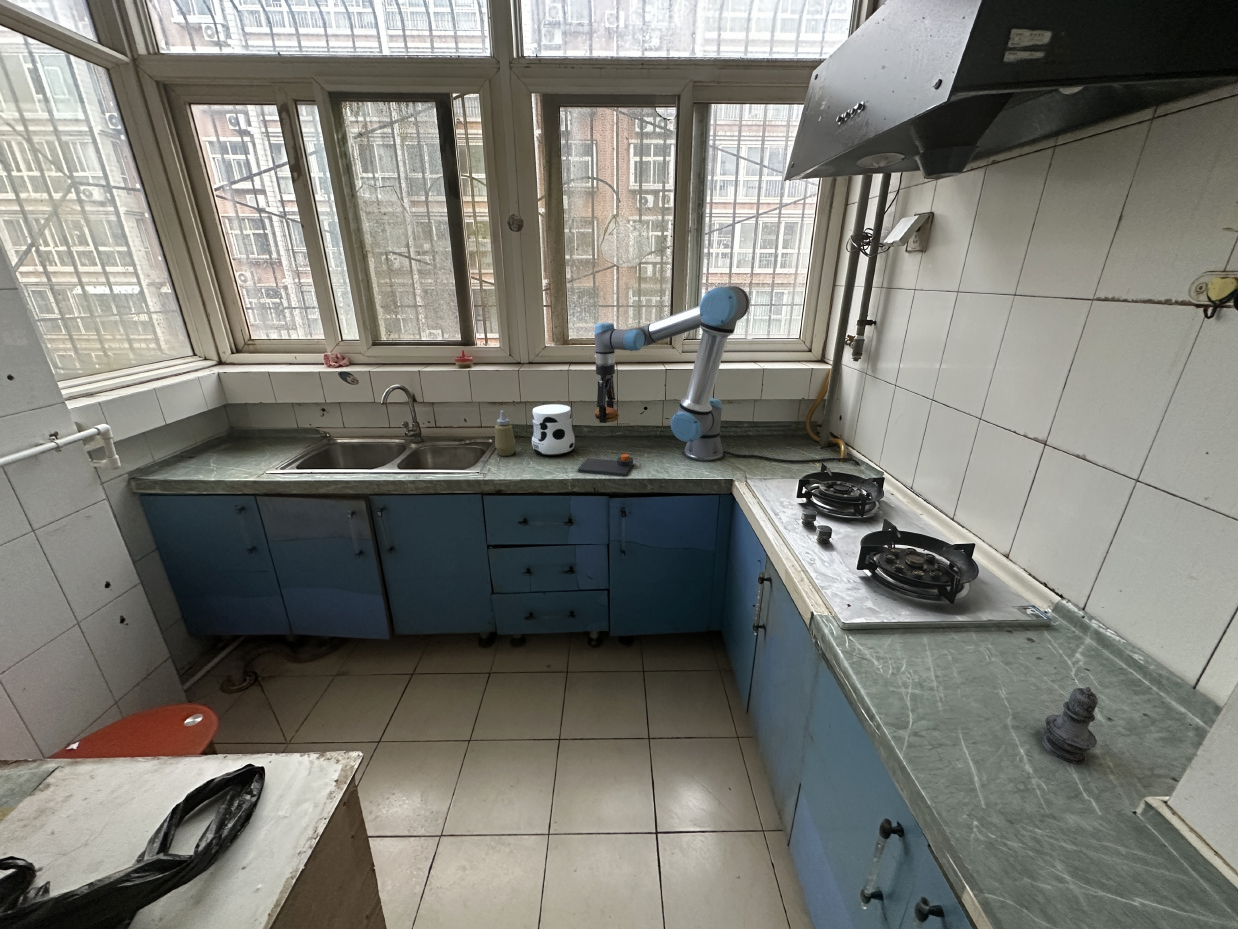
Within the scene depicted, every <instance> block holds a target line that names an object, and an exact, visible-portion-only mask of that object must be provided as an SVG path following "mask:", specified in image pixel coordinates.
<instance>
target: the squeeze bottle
mask: <svg viewBox="0 0 1238 929" xmlns="http://www.w3.org/2000/svg"><path fill="white" fill-rule="evenodd" d="M494 447H495V449H496V451H497V454H498V455H499V456H502V457H508V456H512V455H513V454H514V452H515V448H516V440H515V435H514V430H513V425H512V424H511V423H510V419H509V418H507V417H506V414H505V411H504V410H500V413H499V418H498V419H496V425H495V426H494Z"/></svg>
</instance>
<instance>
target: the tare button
mask: <svg viewBox="0 0 1238 929" xmlns="http://www.w3.org/2000/svg"><path fill="white" fill-rule="evenodd" d="M620 457H621V460H623V461H627V460H629V457H630V454H627V453H623V454H621V456H620Z"/></svg>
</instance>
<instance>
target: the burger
mask: <svg viewBox="0 0 1238 929" xmlns="http://www.w3.org/2000/svg"><path fill="white" fill-rule="evenodd" d="M605 407H606V421H607V423H613V422H617V421H618V420H619V417H620V414H619V411H618V409H616V408H615V407H614V408H609V407H607V406H605ZM594 417H595V419H596V420H597V421H598V422H599V408H597V409H596V410H595V411H594Z"/></svg>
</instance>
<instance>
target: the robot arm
mask: <svg viewBox="0 0 1238 929" xmlns="http://www.w3.org/2000/svg"><path fill="white" fill-rule="evenodd" d="M750 303H751V302H750V297H749V295H748V293H747V291H745V289H743V288H742V287H741V286H737V285H730V286H717V287H714V288H712V289H709V290H708V291H707V292H705V294H704V295H703V296H702V298H701V299H700V302H699V305H697V306H694V307H690V308H688V309H686V310H682V311H680V312H677V313H675V314H672V315H669V316H667V317H663V318H661V319H659V320H656V321H653V322H651V323H647V324H645V325H642V326H638V327H632V328H628V329H627V328H626V329H623V328H616V327H615V325H614V323H613V322H598V323H596V324H594V335H593V336H594V347H595V351H594V352H595V353H594V354H595V355H594V358H595V374H596V375H597V376H600V377H599V380H597V394H596V395H597V400H596V408H598V409H599V421H598V422H599V424H607V423H608V422H607V421H606V407H609V408H614V409H615V406H614V403H615V402H614V401H616V398H617V397H616V393H615V384H614V375H615V374H616V364H615V363H616V353H615V352H616V350H619V351H620V350H621V351H629V352H633V351H635V352H638V351H640V350H642V348H643V347H648V346H651V345H653V344H656V343H657V342H658V343H659V342H661V341H664V340H667V339H670V338H672V337H676V336H679V335H682V334H685V333H688V332H692V331H693V330H697V329H699V328H700V329H701V331H702V332H701V336H700V341H699V344H698V349H697V351H696V356H695V360H694V364H693V368H692V372H691V375H690V380H689V384H688V387H687V392H686V394H685V397H684V398H682V399H681V400H680V402H679V405H678V409H677V412H676V413H674V415H673V416H672V418H671V420H670V429H671V432H672V433H673V435H674V437H675V438H676V439H678V440H680V441H681V442H684V443H686V445H685V448H684V456H685V457H686V458H688V459H691V460H695V461H701V462H714V461H718V460H720V459H722V458H723V457H724V455H729V456H733V457H736V458H737V457H738V458H755V459H761V460H762V459H763V460H767V461H773V462H778V463H779V462H780V463H791V464H793V463H796V464H797V463H798V464H799V463H801V464H802V463H804V464H805V463H820V462H828V461H836V462H838V461H849V462H852V463H854V464H856V465H857V466H861V463H860V462H859V461H858V460H856V459H855V458H851V457H824V458H813V459H786V458H785V459H784V458H775V457H769V456H764V455H760V454H759V455H758V454H743V453H742V454H741V453H734V452H731V451H726V450H724V448H723V444H722V440H721V436H720V435H721V424H722V412H723V405H722V404H723V403H722V400H720V399H719V398H714V397H712V395H713V391H714V388H715V384H716V380H717V376H718V373H719V370H720V366H721V361H722V359H723V357H724V356H723V355H724V353H725V348H726V345H727V341H728V338H729V337H730V336H732V335H734V333H735V329H736V326H737V322H738V321H740V320H742V319H743V318H744V317H745V316H746V315H747V313H748V312H749V308H750Z"/></svg>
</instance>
